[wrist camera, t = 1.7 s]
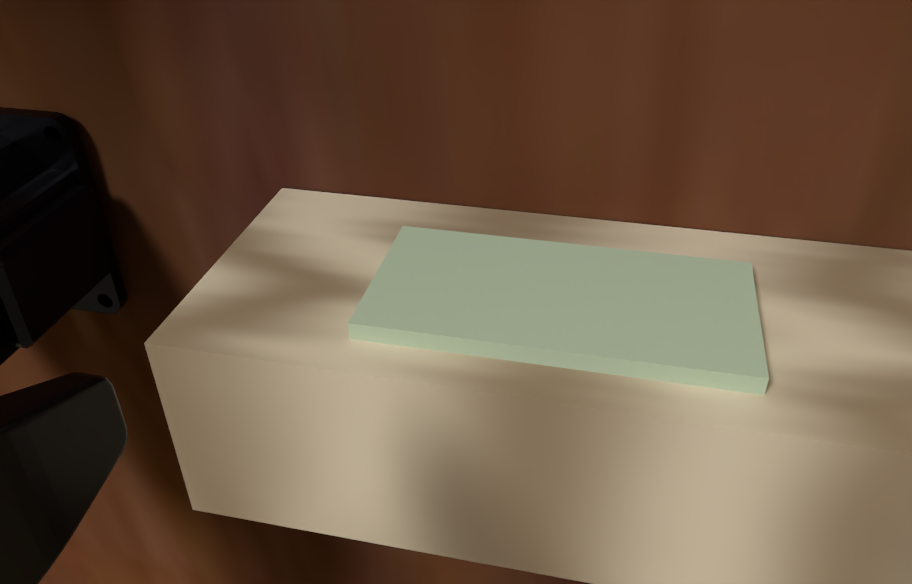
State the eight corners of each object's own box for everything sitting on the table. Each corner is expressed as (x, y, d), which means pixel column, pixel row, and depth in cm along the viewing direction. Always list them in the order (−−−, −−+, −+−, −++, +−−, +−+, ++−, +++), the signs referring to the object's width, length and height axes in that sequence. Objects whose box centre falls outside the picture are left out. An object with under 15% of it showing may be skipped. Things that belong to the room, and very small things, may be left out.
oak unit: (303, 333, 24) (193, 509, 19) (280, 174, 21) (139, 327, 16) (859, 409, 21) (926, 645, 16) (924, 236, 18) (1036, 453, 13)
